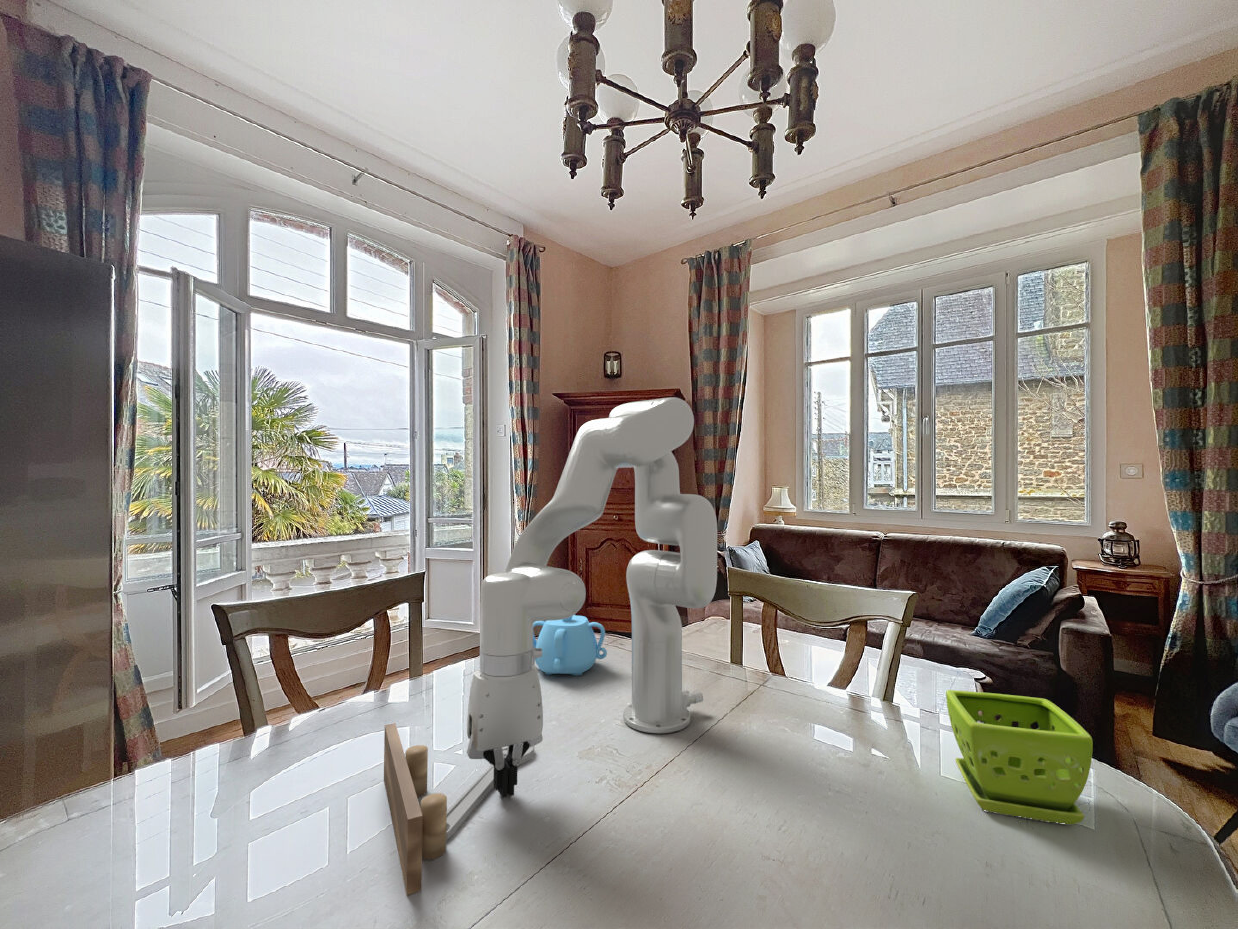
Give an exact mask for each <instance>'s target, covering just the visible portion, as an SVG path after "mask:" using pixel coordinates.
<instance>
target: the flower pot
mask: <svg viewBox="0 0 1238 929" xmlns="http://www.w3.org/2000/svg"><path fill="white" fill-rule="evenodd" d="M945 696H946V707H947V714H948V717H949V721H950V725H951V730H952V731H953V736H954V738H955V741H956V743H957V745H958V746H957V747H958V748H959V751H960V754H961V755H962V757H963V758H961V757H955V763H956V766H957V768H958V770H959V771H960V774H961V775H962V777H963V779H964V781H965V784H966V785H967V787H968V789H969V790H970V792H971V794H972V796H973V797H974V799H975V801H976V803H977V805H978V806H979V808H982V809H983V810H986V811H990V812H989V813H992V812H996V813H995V814H997V813H1000V814H999V815H1003V814H1006V815H1005V816H1008V815H1012V816H1011V817H1014V816H1021V817H1026V818H1032V819H1037V820H1036V821H1038V820H1043V821H1042V822H1044V821H1049V822H1048V823H1050V822H1058V823H1065V824H1072V825H1076V824H1078V823H1080V822H1082V821H1083V820H1084V819H1085V815H1084V814H1083V812H1082V811H1081V809H1080V808H1079V807H1078V806H1077V804H1076V802H1077V801H1078V800H1079V798H1080V796H1081V794H1082V793H1083V791H1084V789H1085V787H1086V784H1087V781H1088V778H1089V775H1090V769H1091V767H1092V766H1091V765H1092V760H1093V752H1094V751H1093V750H1094V749H1093V745H1094V744H1093V738H1092V736H1091V734H1089V732H1088V731H1086V730H1085V729H1084V728H1083V726H1081V724H1079V723H1078V722H1077V720H1075V719H1074V718H1073V717H1072V716H1070V715H1069V714H1068V713H1067V712H1065V711H1064V710H1062V709H1061V708H1060V707H1059V706H1057V705H1056V704H1055V703H1053V702H1052V701H1051V700H1048V699H1046V698H1042V697H1031V696H1023V695H1013V694H1012V695H1011V694H1006V693H1005V694H1002V693H992V692H983V691H982V692H979V691H971V690H969V691H968V690H953V689H948V690H946V693H945ZM979 712H982V713H981V714H979ZM997 716H1000V718H999V719H998V720H997V719H996V717H997ZM978 721H980V722H978ZM1013 722H1014V723H1015V722H1018V723H1017V724H1018V727H1017V726H1016V727H1014V726H1013ZM1034 723H1037V725H1038V728H1036V729H1034V728H1032V725H1033V724H1034ZM982 809H981V810H982ZM983 810H982V811H983ZM1026 818H1025V819H1026ZM1032 819H1031V820H1032ZM1072 825H1071V826H1072Z"/></svg>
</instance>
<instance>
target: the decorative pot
mask: <svg viewBox="0 0 1238 929" xmlns="http://www.w3.org/2000/svg"><path fill="white" fill-rule="evenodd" d="M537 626H542V627H541V630H540V632H539V634H538V636H537V640H536V636H535V634H534V631H533V647H535V648H541V649H542V657H539V658H537V659H535V663H536V665H537V667H538V668H539V670H540V671H542V672H543V673H544V674H545V675H547V676H550V675H552V674H553V675H555V674H566V675H568V674H569V675H572V676H574V675H580V676H582V675H583V673H584V672H586V671H588V670H589V669H591V668H592V667H593V665H594V664H595V662H596V661H597V659H598V660H603V659H605V658H606V657H607V656H608V655H607V654H608V651H607V649H606V648H605V647H602V645H603V643H604V640H605V637H606V629H605V627H604V626H603V624H601V623H599V622H596V621H592V622H590V621H589V620H588V618H587V617H586V616H583V615H576V614H574V615H573V616H571V617H569V618H566V619H562V620H549V621H536V622H534V626H533V629H534V628H535V627H537ZM593 627H594V628H598V629H599V630H600V636H599V640H598V642H597V638H596V635H595V631H594V630H593ZM600 652H603V653H602V654H601V653H600Z"/></svg>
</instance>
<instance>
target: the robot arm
mask: <svg viewBox="0 0 1238 929" xmlns="http://www.w3.org/2000/svg"><path fill="white" fill-rule="evenodd" d="M693 413H694V412H693V411H692V408H691V407H690V404H688V403H687V402H686V401H685V400H683V399H681V398H679V397H663V398H662V397H661V398H655V399H654V398H653V399H648V400H647V399H646V400H639V401H638V400H637V401H631V402H627V403H622V404H620V405H617V406H616V407H614V408H613V409H612V410H611V411H610V412H609V415H608V417H605V418H603V417H602V418H598V419H592V420H590V421H587V422H585V423H583V425H581V426H580V428H579V429H578V431H577V433H576V435H575V437H574V439H573V443H572V446H571V449H570V451H569V454H568V457H567V459H566V462H565V465H564V468H563V470H562V472H561V475H560V478H559V481H558V484H557V487H556V489H555V492H554V495H553V497H552V498H551V500H550V501H549V502H548V503H547V504H546V505H544V507H543V508H542V509H541V510H540V511H539V512H538V513H537V514H536V515H535V517H533V519H532V520H531V521H530V522H528V525H527V526H526V527H525V528H524V529H523V531H522V532H521V534H519V537H518V538H517V540H516V541H515V544H514V547H513V549H512V552H511V555H510V557H509V559H508V562H507V565H506V568H505V571H504V572H499V573H494V574H493V573H491V574H489V575H487V576H486V577H484V579H483V580H482V581H481V585H480V602H479V603H480V604H479V605H480V606H479V607H480V608H479V611H480V612H479V614H480V615H479V617H480V620H479V669H477V670H475V671H474V672H473V675H472V679H471V683H470V684H471V685H470V689H469V696H468V697H469V698H468V707H467V716H466V718H467V719H466V733H467V734H466V735H467V739H469V742H468V746H467V751H466V754H467V756H468V758H469V759H470V760H486V761H487V762H488V763H489V764H490V765H493V766H494V787H493V788H494V790H495V791H498V793H499V794H500V796H501V799H505V798H507V797H508V796H510V797H512V796H515V786H517V785H518V766H520V765H521V764H520V762H521V758H522V757H523V755H524V754H525V753H526V751H527V750H528V749H529V748H530V747H533V746H534V747H535V746H536V745H538V744H540V743H542V742H543V740H544V739H543V734H542V732H543V727H544V711H543V710H544V709H543V708H544V707H543V698H542V697H543V696H542V688H541V682H540V676H539V671H538V668H537V667H538V666H536V665H535V663H536V662H535V659H537V658H539V657H542V649H541V648H535V647H533V632H534V628H533V626H534V622H536V621H544V622H546V621H549V620H562V619H566V618H569V617H571V616H573V615H576V614H577V613H578V612H579V611H580V610H581V609H582V608H583V605H584V604H585V601H586V595H587V593H586V592H587V591H586V585H585V583H584V581H583V579H582V578H581V577H580V576H579V575H578V574H576V573H575V572H573V571H571V570H568V569H566V568H565V569H564V568H558V567H552V566H547V565H548V562H549V560H550V557H551V555H552V554H553V552H554V550H555V549H556V547H557V546H559V544H560V543H561V542H562V541H563V540H564V539H566V538H567V537H569V536H570V535H571V534H573V533H574V532H577V531H578V530H580V529H582V528H585V527H586V526H588V525H590V524H592V523H594V522H595V521H598V519H600V518H601V517H602V515H603V514H604V512H605V511H604V510H605V507H606V504H607V501H608V498H609V495H610V492H611V488H612V486H613V482H614V481H615V480H614V479H615V476H616V473H617V471H618V469H622V468H633V470H634V484H635V485H634V522H635V526H634V527H635V530H636V533H637V535H638V537H639V538H640V540H642V541H644V542H648V543H651V544H652V543H653V544H658V545H659V544H660V545H669V546H679V550H680V551H679V552H675V551H670V550H669V551H668V550H658V549H649V550H642V551H640V552H638V553H636V554H635V555H634V556H633V557H631V559H630V560H629V562H628V565H627V568H626V574H625V575H626V576H625V578H626V585H627V591H628V597H629V602H630V610H631V611H630V613H631V614H630V615H631V704H629V705H628V706H626V707H625V708H624V710H623V721H624V723H625V724H626V725H627V726H629V727H630V728H632V729H634V730H637V731H640V732H643V733H649V734H669V733H675V732H678V731H681V730H683V729H685V728H686V727H688V726H689V725H690V722H691V713H690V711H689V709H688V708H689V707H691V705H693V704H699V703H702V702H703V701H704V696H703V694H702V692H701V691H695V692H692V693H690V690H688V689H684V690H683V628H682V627H683V625H682V619H681V616H680V614H679V611H678V609H677V607H682V608H688V609H702V608H705V607H707V606H708V605H709V604H710V603H711V602H712V600H713V599H714V596H715V593H716V590H717V589H716V588H717V583H718V582H717V581H718V522H717V521H718V520H717V515H716V512H715V508H714V507H713V505H712V503H711V502H710V501H709V500H708V498H705V497H704V496H702V495H699V494H692V493H691V494H690V493H681V491H680V490H681V489H680V488H681V487H680V468H679V464H678V462H677V459H676V456H675V455H674V453H673V452H672V451H674V450H675V449H677V448H679V447H681V446H682V445H683V444H685V443H686V441H688V440H689V438H690V437H691V435H692V432H693V430H694V425H695V418H694V417H695V416H694V414H693ZM676 606H677V607H676ZM534 627H535V626H534ZM505 746H508V749H507V756H506V758H504V757H503V750H502V747H505ZM519 764H520V765H519ZM517 765H518V766H517Z"/></svg>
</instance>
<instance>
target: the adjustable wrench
mask: <svg viewBox="0 0 1238 929" xmlns="http://www.w3.org/2000/svg"><path fill="white" fill-rule="evenodd" d="M507 749H508V746H505V747H502V750H503V757H504V758H506V756H507ZM534 755H535V746H533V747H530V748H529V749H528V750H527V751H526V753H525V754H524V755H523V757H522V758H521V762H520V764H519V765H517V767H518V766H520V765H522V764H525V763H526V762H529V761H530V760H531V759H533V757H534ZM493 788H494V766H493V765H492V764H490V766H489V767H488V768H487V769H486V770H485V771H484V772H483V773H482V775H480V776H479V778H477V779H476V780H475V781H474V783H473V784H472V785H470V786H469V788H468V789H467V790H465V792H464V793H463V794H462V795H461V796H460V797H459V798H458V799H457V800H456V801H455V802H454V803H453V804H452V805H451V806H450V807H449V808H447V825H446V841H448V840H449V839H450V838H452V836H454V834H455V832H457V831H458V829H459V828H460V827H461V826H462V825H463V823H464V822H465V821H467V818H468V817H469V816H470V815H472V813H473V811H474V810H475V809H476V808H477V807H478V806H479V805H480V803H481V802H482V801H483V800H484V799H485V798H486V796H487V795H488V794H489V793H490V792H491V791H492V789H493Z"/></svg>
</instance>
